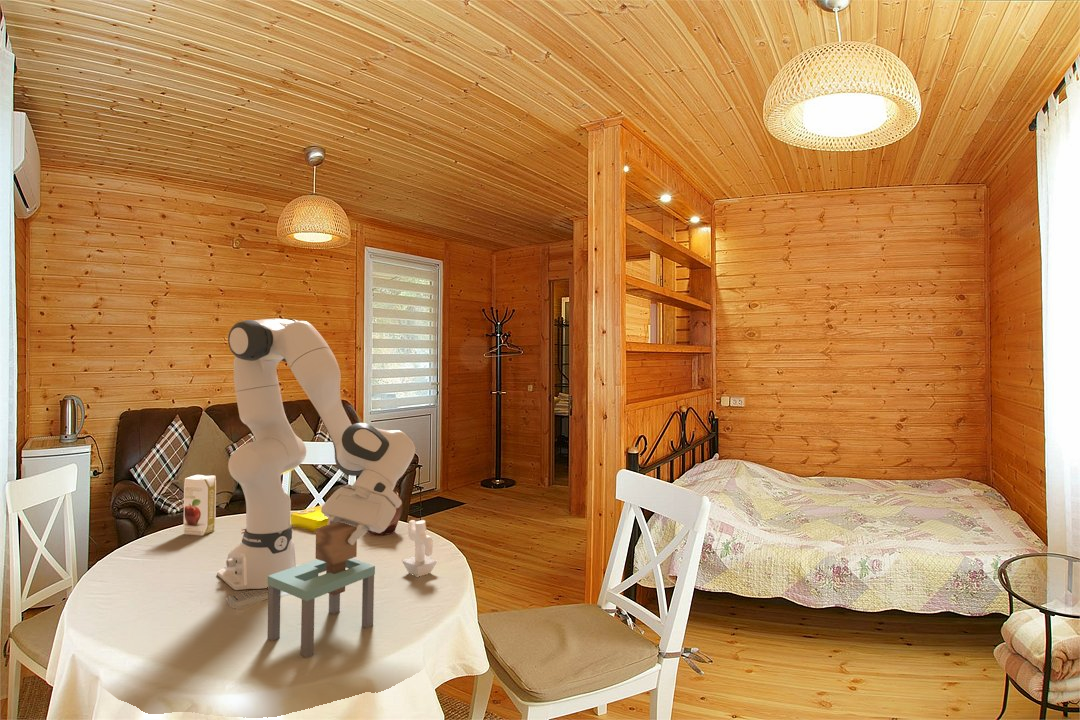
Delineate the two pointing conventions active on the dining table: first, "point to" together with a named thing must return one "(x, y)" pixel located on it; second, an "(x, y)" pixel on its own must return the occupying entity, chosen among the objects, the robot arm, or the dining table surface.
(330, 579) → the keyhole shelf
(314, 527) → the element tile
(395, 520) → the decorative planter
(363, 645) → the dining table surface
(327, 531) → the walnut peg
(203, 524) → the juice carton
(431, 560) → the figurine
